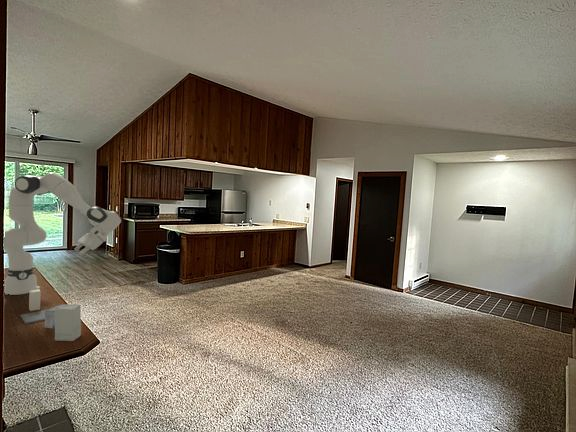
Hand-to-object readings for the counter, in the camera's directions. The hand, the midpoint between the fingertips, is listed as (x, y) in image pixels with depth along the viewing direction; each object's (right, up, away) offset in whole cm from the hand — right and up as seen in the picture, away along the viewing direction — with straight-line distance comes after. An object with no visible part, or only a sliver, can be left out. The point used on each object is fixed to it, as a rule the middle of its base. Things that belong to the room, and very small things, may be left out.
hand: (78, 251), depth 180 cm
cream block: (-15, -29, -13) cm, 35 cm away
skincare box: (+22, -34, -40) cm, 57 cm away
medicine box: (+8, -33, -28) cm, 44 cm away
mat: (-5, -31, -21) cm, 37 cm away
